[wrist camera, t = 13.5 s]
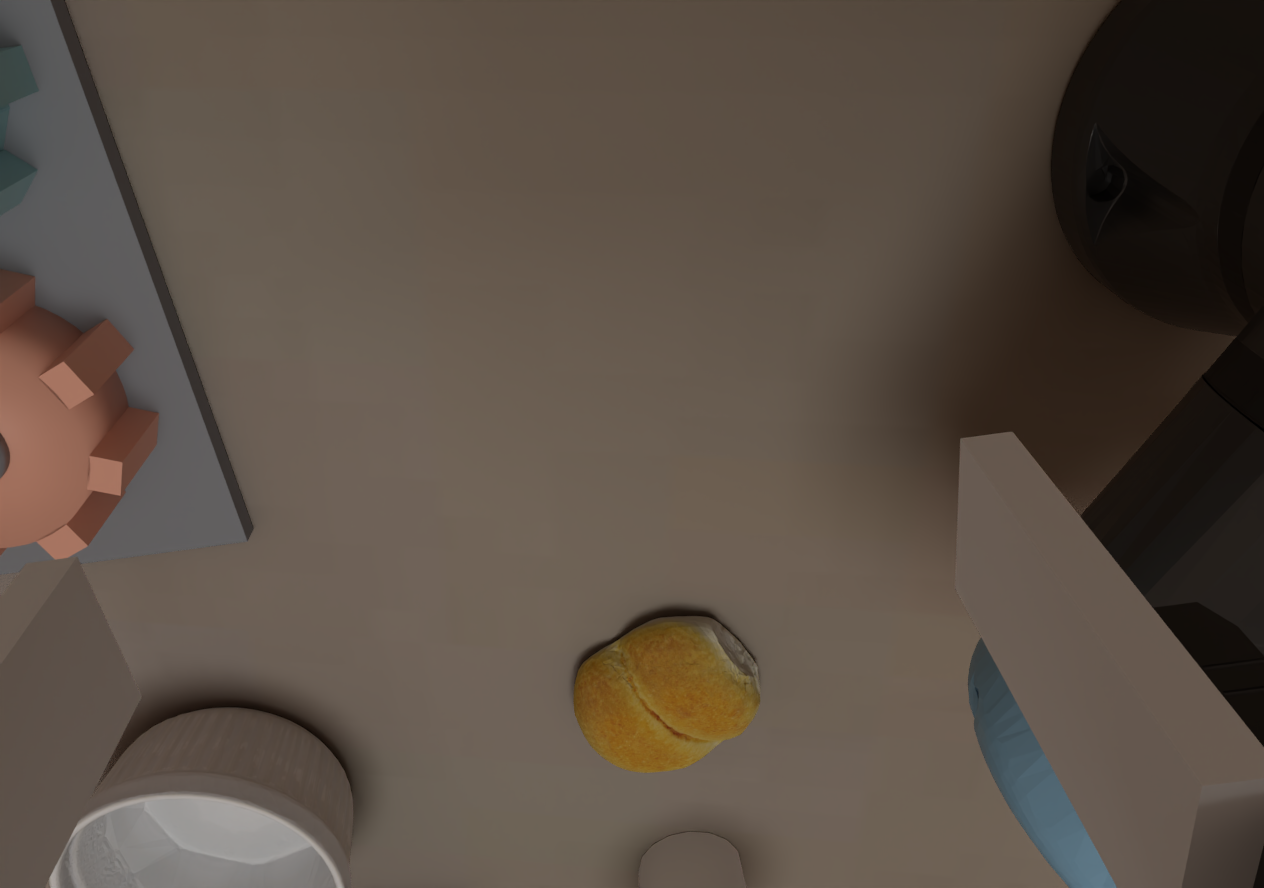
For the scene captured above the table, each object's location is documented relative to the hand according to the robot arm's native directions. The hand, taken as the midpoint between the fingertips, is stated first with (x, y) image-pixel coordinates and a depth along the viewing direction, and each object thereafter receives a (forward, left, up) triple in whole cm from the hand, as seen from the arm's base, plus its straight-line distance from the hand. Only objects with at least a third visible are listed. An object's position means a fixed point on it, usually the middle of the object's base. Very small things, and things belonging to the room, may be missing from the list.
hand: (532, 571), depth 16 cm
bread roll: (+19, +18, -27) cm, 38 cm away
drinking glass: (+30, +27, -27) cm, 48 cm away
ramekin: (+36, +3, -27) cm, 45 cm away
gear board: (+15, -17, -27) cm, 35 cm away
